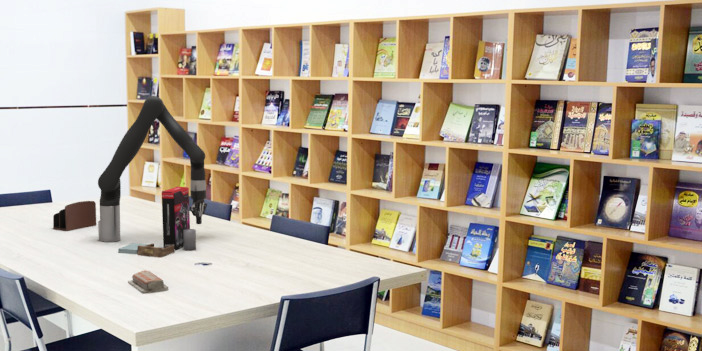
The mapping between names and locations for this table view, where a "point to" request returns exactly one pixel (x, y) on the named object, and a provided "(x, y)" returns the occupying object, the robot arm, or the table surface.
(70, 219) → the letter holder
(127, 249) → the light blue rectangular block
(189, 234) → the grey rounded capsule
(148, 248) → the brown wooden angled bracket
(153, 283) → the packaged product
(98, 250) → the table surface
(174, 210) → the graphics card box
